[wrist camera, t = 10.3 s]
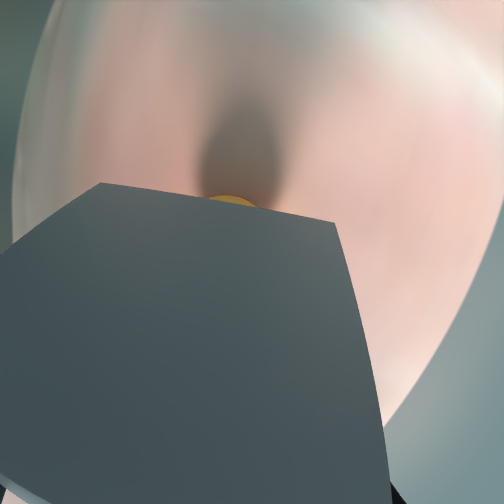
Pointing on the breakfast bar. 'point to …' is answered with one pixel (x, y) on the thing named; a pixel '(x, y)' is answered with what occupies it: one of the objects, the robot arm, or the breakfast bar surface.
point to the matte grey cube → (184, 358)
